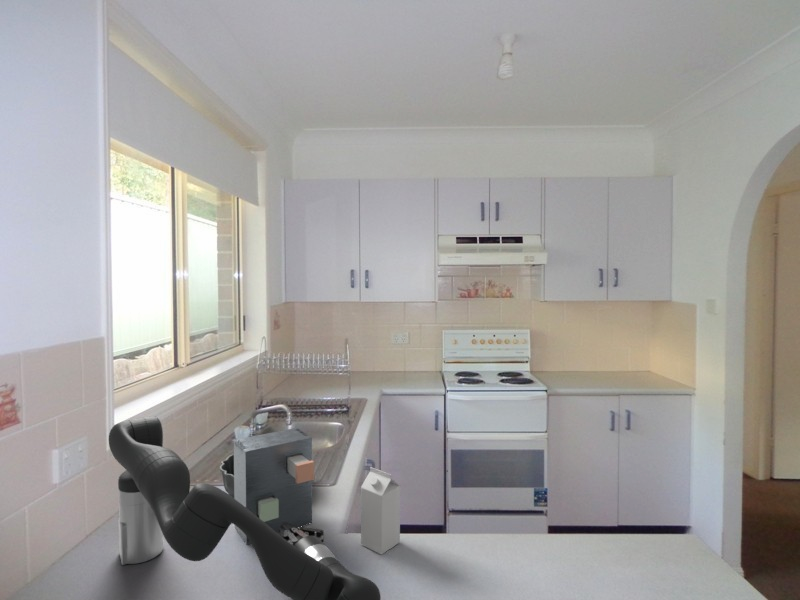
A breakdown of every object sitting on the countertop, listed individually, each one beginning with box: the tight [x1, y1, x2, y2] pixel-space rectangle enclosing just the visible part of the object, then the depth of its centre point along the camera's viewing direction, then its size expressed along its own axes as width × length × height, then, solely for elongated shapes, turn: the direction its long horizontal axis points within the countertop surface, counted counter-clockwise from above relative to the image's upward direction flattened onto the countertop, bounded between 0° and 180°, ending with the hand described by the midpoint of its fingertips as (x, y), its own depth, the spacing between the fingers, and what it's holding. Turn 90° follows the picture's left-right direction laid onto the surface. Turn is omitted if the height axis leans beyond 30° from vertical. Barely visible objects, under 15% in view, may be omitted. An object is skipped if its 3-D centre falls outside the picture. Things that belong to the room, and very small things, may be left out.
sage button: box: [257, 496, 279, 522], centre depth 123 cm, size 5×9×5 cm, turn 35°
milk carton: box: [360, 466, 401, 555], centre depth 120 cm, size 7×7×19 cm
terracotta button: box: [286, 454, 315, 484], centre depth 124 cm, size 5×9×5 cm, turn 36°
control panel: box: [233, 427, 313, 545], centre depth 128 cm, size 18×10×24 cm, turn 126°
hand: (283, 526), depth 112 cm, fingers closed
